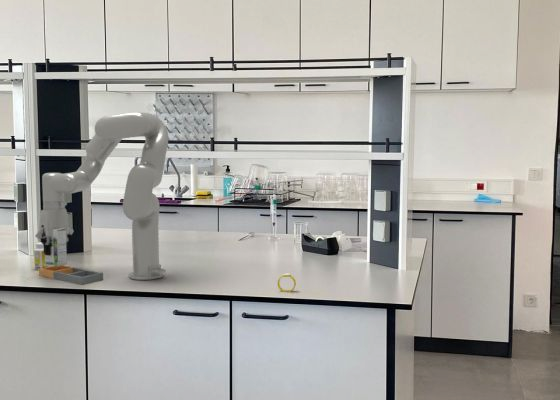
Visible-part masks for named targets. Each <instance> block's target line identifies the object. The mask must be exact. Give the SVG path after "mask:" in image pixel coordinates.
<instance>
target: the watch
mask: <svg viewBox="0 0 560 400" xmlns="http://www.w3.org/2000/svg"><path fill="white" fill-rule="evenodd" d="M283 278H291V279H292V281H293V288H291V289H283V288H282V287H281V285H280V282H281V281H280V280H281V279H283ZM296 283H297V282H296V279H295V278H294V276H293V275H291V273H288V272H287V273H286V272H285V273H282V275H281V276H280V277H279V278H278V280H277V287H278V290H280V291H281V292H284V293H286V292H287V293H288V292H290V293H291V292H292V291H294V290H295V288H296V285H297V284H296Z"/></svg>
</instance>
